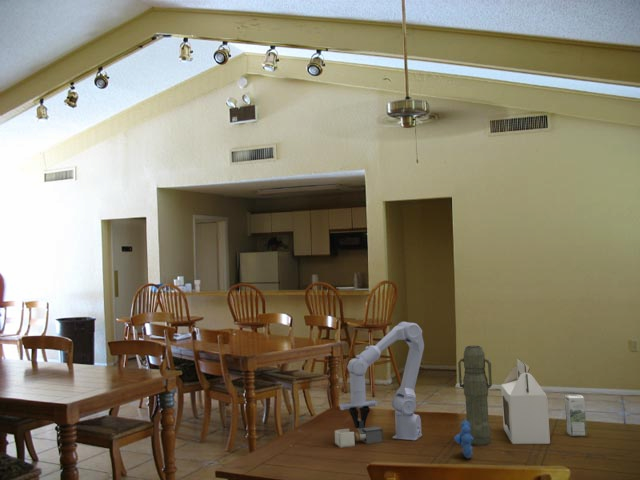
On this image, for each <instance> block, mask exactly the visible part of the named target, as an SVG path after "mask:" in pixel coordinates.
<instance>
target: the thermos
mask: <svg viewBox="0 0 640 480" xmlns="http://www.w3.org/2000/svg"><path fill="white" fill-rule="evenodd" d="M485 357H486V356H485V352H484V350H483V347H482V346H480V345H467V346H466V347H465V348H464V351H463V358H460V360H459V361H458V363H457V365H458V366H457V367H458V380H459V387H460V388H462V389H463V395H464V396H465V397H464V398H465V413H466V420H467V421H468V422H469V423H470V424H471V425H470V428H471V431H470V434H471V436H472V437H473V438H474V439H473V441H472V442H471V446H487V445H491V444H492V440H491V439H492V438H491V436H492V431H491V428H492V427H491V425H490V421H489V403H488V396H489V389H490V388H491V387H492V386H493V383H492V382H493V381H492V377H493V376H492V363H491V361H490V360H489V359H487V358H485ZM461 363H463V367H464V376H463V379H462V367H461V366H462V364H461ZM486 363H487V368H488V369H487V370H488V377H487V375H486ZM462 380H463V382H462Z"/></svg>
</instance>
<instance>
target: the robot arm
mask: <svg viewBox="0 0 640 480" xmlns="http://www.w3.org/2000/svg"><path fill="white" fill-rule="evenodd" d="M401 340H402V341H403V340H404V341H405V343H406V344H407V345H408V347H409V350H408V353H407V357H406V361H405V366H404V370H403V373H402V379H401V383H400V386H399V388H398V389H397V390H396V393H395V395H394V396H393V398H392V400H391V405H392V407H393V409H394V417H395V418H394V419H395V434H394V435H393V436H392V439H396V440H407V441H417V440H419V438H421V437H422V436H423V434H422V421H421V416H420V415H419V414H415V411H416V410H417V409H416V408H417V404H416V400H417V395H416V393H415V389H416V388H415V387H416V383H417V378H418V374H419V371H420V367H421V362H422V358H423V355H424V349H425V343H424V342H425V341H424V338H423V330H422V328H421V327H420V326H419V324H417V323H416V322H408V321H400V322H399V323H398V324H397V325H395V326H394V327H393V328H392V329H391V330H390V331H389V332H388V333H387V334H386V335H385V336H383V337H382V339H380V340H379V341H378V342H377V343H376V344H375V345H372V344H371V345H367V346H366V347H364V350H363V351H362V352H360V353H359V354H356V355H355V358H351V359H350V360H349V361H348V364H347V366H346V368H347V370H348V372H349V384H350V385H349V386H350V389H349V390H350V401H349V402H345V403H339V410H341V411H344V410H348V411H349V415H350V416H351V418H352V421H353V425H354V426H353V427H354V428H356V429H358V419H359V412H360V419H362V420H363V421H364V428H366V422H367V418H368V416H369V413H370V411H371V409H370V407H378V405H379V403H378V400H374V399H373V400H367V396H366V395H367V394H366V393H367V392H366V375H365V374H366V373H367V370H368V368H369V367H370V366H372V364H373V363H375V362H377V360H379V358H380V357H381V355H382V354H381V353H382V352H383V351H385V350H386V349H387V348H389V347H390V346H392V344H393V343H395V342H396V341H401ZM358 409H359V410H358Z"/></svg>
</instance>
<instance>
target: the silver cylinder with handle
mask: <svg viewBox="0 0 640 480" xmlns="http://www.w3.org/2000/svg"><path fill="white" fill-rule="evenodd" d="M362 428H365V427H364V421H363V420H362V419H361V417H358V428H357V432H354V440H355V441H357V442H359V441H362V440H366V432H362Z"/></svg>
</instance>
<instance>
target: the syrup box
mask: <svg viewBox="0 0 640 480" xmlns="http://www.w3.org/2000/svg"><path fill="white" fill-rule="evenodd" d="M585 401H586V399H585V397H584V396H583V395H581V394H564V405H565V409H564V410H565V422H566V425H565V426H566V433H567V435H569V436H570V437H587V436H588V435H587V422H586V421H587V420H586V402H585Z"/></svg>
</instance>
